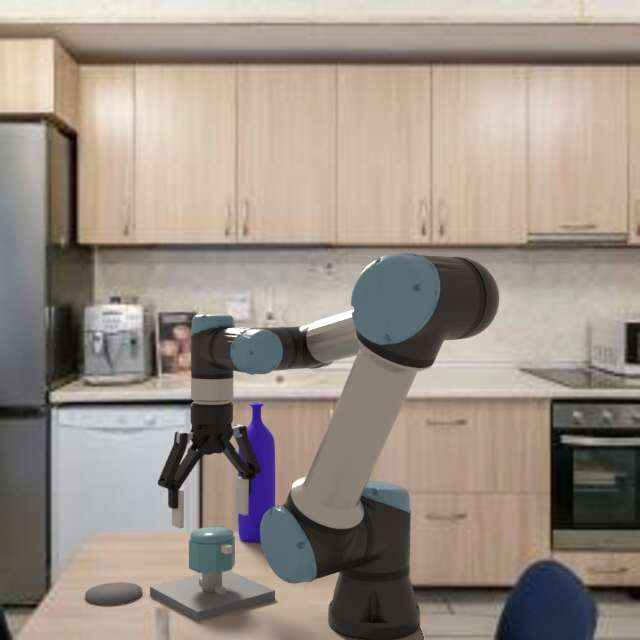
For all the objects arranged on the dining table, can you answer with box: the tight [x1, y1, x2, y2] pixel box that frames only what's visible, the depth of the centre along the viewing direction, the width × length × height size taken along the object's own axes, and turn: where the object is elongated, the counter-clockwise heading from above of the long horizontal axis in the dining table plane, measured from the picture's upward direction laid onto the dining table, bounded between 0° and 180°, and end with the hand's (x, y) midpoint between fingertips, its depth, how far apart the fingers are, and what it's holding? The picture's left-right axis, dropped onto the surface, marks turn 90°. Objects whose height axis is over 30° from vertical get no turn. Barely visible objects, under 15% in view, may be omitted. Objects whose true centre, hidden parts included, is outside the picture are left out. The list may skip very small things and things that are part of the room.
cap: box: [188, 526, 236, 574], centre depth 151 cm, size 11×8×6 cm
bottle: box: [237, 402, 276, 543], centre depth 188 cm, size 8×8×30 cm
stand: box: [149, 570, 276, 622], centre depth 151 cm, size 16×16×10 cm
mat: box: [84, 581, 143, 606], centre depth 152 cm, size 10×10×1 cm
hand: (211, 520), depth 151 cm, fingers open, 13 cm apart
